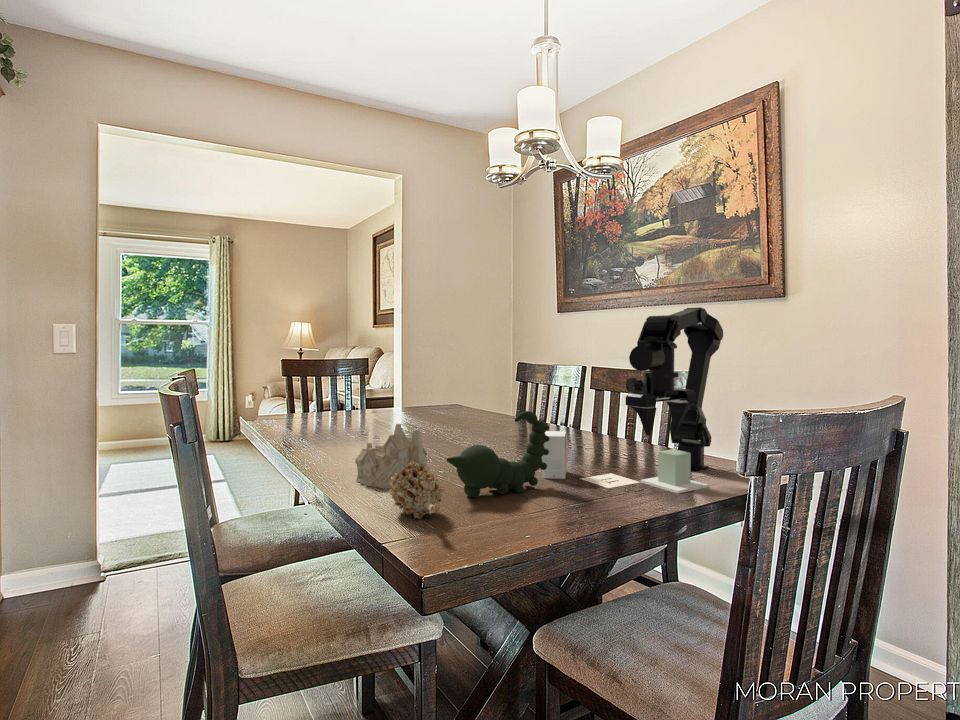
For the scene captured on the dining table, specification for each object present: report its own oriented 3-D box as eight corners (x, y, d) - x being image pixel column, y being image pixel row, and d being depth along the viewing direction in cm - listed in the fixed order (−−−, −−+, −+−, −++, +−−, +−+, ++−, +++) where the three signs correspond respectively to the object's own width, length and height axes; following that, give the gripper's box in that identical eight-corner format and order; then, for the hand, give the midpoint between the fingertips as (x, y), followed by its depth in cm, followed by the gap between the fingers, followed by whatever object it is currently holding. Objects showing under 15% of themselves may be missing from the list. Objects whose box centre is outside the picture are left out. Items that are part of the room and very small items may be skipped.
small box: (565, 479, 136) (565, 436, 136) (542, 478, 137) (542, 435, 137) (567, 471, 144) (566, 430, 144) (545, 471, 145) (544, 430, 145)
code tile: (611, 474, 142) (611, 473, 142) (640, 483, 133) (640, 482, 133) (579, 480, 137) (579, 478, 137) (608, 489, 128) (608, 488, 128)
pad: (670, 476, 138) (670, 474, 138) (708, 487, 129) (708, 484, 129) (640, 482, 133) (640, 479, 133) (677, 493, 124) (677, 490, 124)
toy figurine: (529, 488, 135) (434, 493, 123) (535, 409, 135) (440, 406, 123) (553, 497, 127) (453, 504, 115) (559, 413, 127) (460, 411, 115)
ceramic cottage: (441, 477, 139) (436, 416, 139) (390, 494, 127) (384, 428, 126) (399, 471, 149) (394, 415, 149) (348, 487, 137) (342, 425, 136)
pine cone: (380, 507, 115) (380, 459, 115) (424, 501, 120) (424, 454, 119) (418, 542, 96) (418, 484, 95) (469, 533, 100) (469, 477, 100)
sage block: (672, 478, 134) (673, 449, 134) (690, 483, 130) (690, 452, 130) (658, 481, 132) (658, 451, 132) (675, 486, 128) (675, 455, 127)
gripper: (661, 365, 146) (661, 425, 147) (608, 368, 136) (608, 432, 137) (698, 367, 137) (697, 431, 137) (644, 371, 127) (644, 440, 128)
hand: (661, 433), depth 135 cm, fingers open, 9 cm apart
